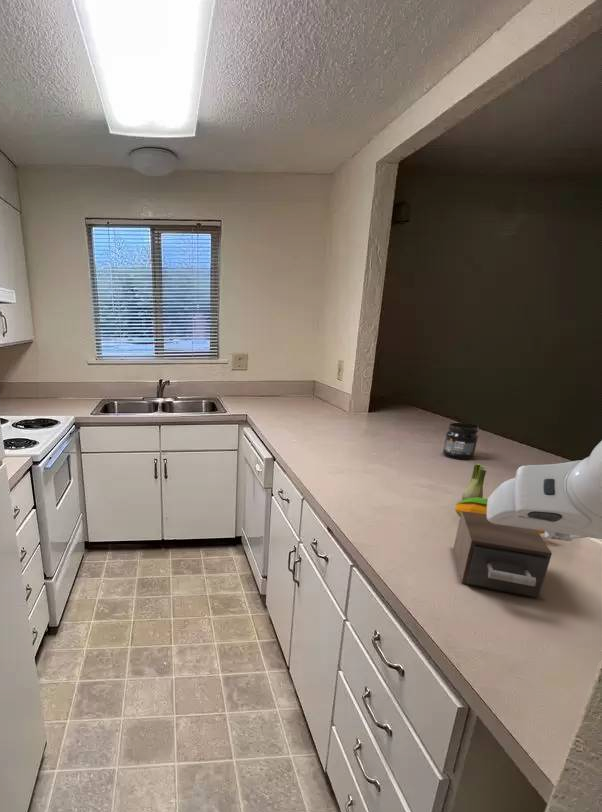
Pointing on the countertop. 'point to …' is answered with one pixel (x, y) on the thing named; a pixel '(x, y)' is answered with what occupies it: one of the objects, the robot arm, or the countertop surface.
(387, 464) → the countertop surface
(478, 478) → the fennel bulb
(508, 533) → the cabinet
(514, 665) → the countertop surface
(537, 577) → the drawer
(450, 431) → the supplement container
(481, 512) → the corn
